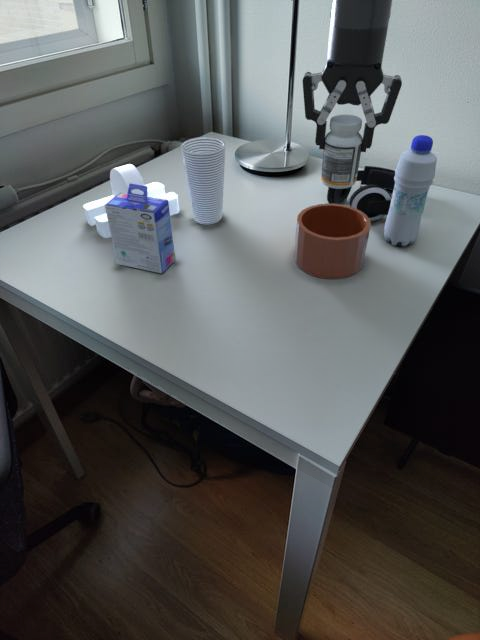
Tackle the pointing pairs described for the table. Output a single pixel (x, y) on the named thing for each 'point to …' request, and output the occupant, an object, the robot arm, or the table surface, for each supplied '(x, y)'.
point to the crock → (331, 240)
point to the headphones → (368, 192)
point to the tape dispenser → (120, 184)
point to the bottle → (410, 191)
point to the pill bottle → (342, 152)
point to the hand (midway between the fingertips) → (342, 148)
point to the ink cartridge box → (141, 230)
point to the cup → (205, 177)
